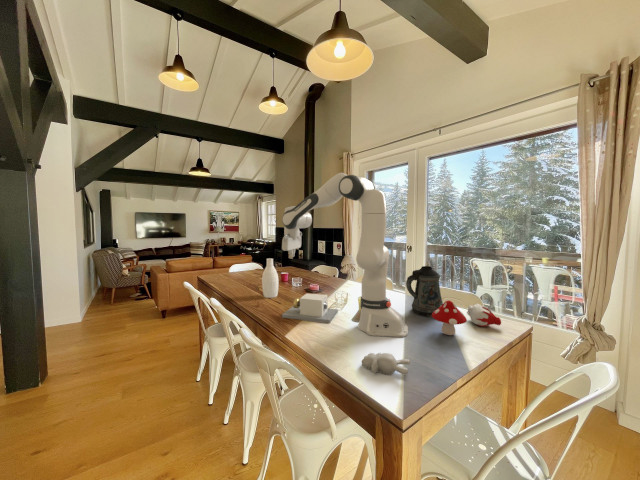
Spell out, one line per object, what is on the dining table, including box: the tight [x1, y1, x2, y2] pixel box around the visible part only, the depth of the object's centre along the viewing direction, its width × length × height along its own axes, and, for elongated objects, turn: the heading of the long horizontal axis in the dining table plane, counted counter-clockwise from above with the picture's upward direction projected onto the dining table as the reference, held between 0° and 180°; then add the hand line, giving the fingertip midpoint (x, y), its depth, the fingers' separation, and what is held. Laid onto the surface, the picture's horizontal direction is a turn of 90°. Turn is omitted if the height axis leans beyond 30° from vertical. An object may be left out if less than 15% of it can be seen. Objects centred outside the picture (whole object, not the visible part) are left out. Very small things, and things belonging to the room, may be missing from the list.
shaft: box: [292, 297, 328, 309], centre depth 136 cm, size 18×5×5 cm, turn 72°
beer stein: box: [405, 265, 444, 318], centre depth 137 cm, size 16×19×25 cm
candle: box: [466, 303, 502, 328], centre depth 120 cm, size 9×11×15 cm
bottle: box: [261, 258, 279, 299], centre depth 171 cm, size 11×11×25 cm
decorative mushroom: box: [431, 300, 468, 336], centre depth 110 cm, size 14×14×15 cm
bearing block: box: [281, 292, 339, 324], centre depth 136 cm, size 26×16×10 cm, turn 72°
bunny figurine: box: [361, 352, 411, 376], centre depth 84 cm, size 10×5×15 cm
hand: (292, 256), depth 151 cm, fingers closed
